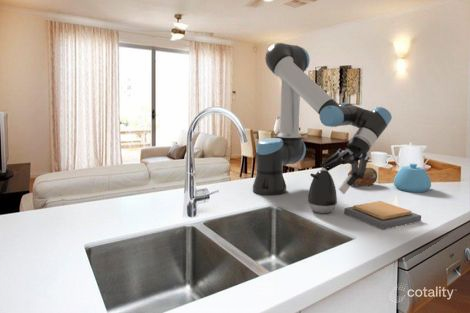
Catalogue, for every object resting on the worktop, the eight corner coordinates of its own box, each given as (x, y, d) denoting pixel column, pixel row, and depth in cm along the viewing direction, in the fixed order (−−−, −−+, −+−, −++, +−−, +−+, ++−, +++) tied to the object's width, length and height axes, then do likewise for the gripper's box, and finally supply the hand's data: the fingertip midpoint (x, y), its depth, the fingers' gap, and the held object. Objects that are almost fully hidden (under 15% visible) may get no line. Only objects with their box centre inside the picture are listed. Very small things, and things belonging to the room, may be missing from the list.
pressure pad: (353, 208, 114) (353, 205, 114) (380, 203, 119) (380, 200, 119) (382, 219, 103) (383, 216, 103) (411, 213, 108) (411, 211, 108)
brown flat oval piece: (350, 187, 152) (350, 169, 151) (346, 185, 155) (346, 168, 154) (377, 184, 156) (378, 167, 155) (372, 183, 159) (373, 166, 158)
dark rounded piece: (301, 209, 121) (302, 169, 119) (323, 205, 125) (324, 166, 123) (319, 217, 112) (320, 174, 109) (342, 213, 116) (344, 171, 114)
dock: (344, 213, 116) (344, 207, 115) (379, 206, 122) (379, 201, 122) (382, 229, 100) (383, 223, 100) (420, 221, 107) (421, 215, 107)
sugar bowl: (397, 183, 159) (399, 160, 157) (433, 188, 149) (435, 163, 148) (389, 189, 147) (391, 164, 145) (427, 195, 138) (429, 168, 136)
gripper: (394, 153, 111) (359, 202, 107) (342, 146, 133) (312, 186, 129) (384, 139, 108) (347, 188, 104) (332, 133, 130) (301, 174, 126)
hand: (328, 187), depth 117 cm, fingers open, 13 cm apart
